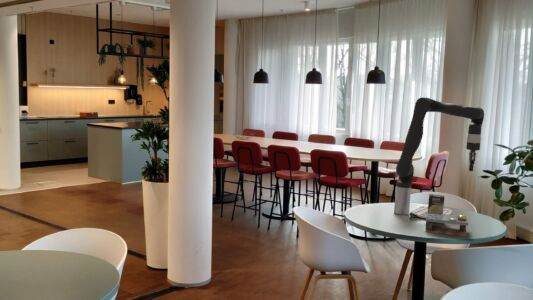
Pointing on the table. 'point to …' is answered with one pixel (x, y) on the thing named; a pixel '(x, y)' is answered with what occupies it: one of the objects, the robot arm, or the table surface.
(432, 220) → the level plate
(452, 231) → the walnut base
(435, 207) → the coffee box
